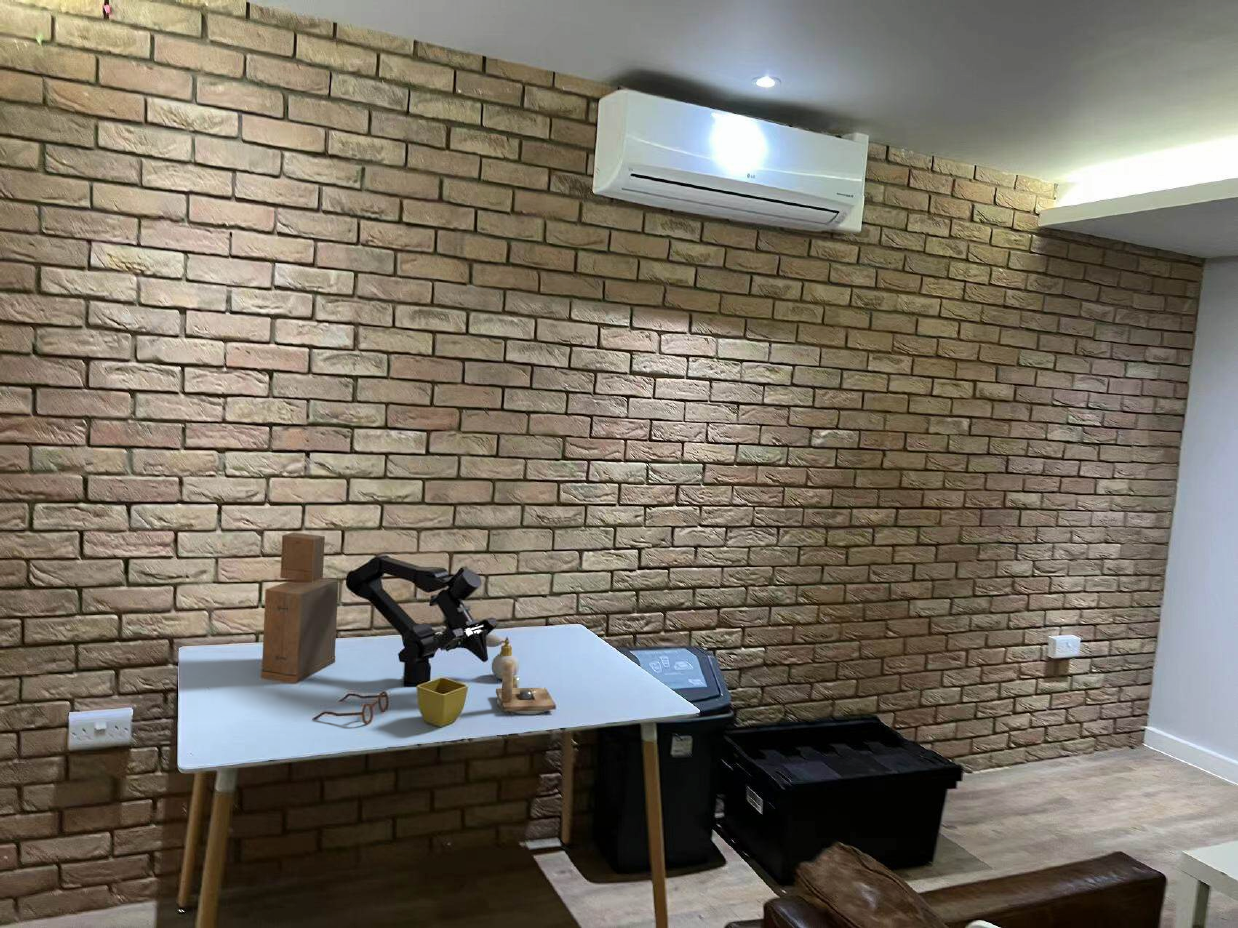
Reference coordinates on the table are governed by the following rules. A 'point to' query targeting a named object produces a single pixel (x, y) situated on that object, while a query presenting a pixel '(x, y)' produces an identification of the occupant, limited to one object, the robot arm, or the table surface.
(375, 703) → the glasses
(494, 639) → the perfume bottle
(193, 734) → the table surface
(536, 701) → the flange plate
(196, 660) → the table surface
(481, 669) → the table surface
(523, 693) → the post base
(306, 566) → the stacked wooden blocks
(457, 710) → the flower pot
